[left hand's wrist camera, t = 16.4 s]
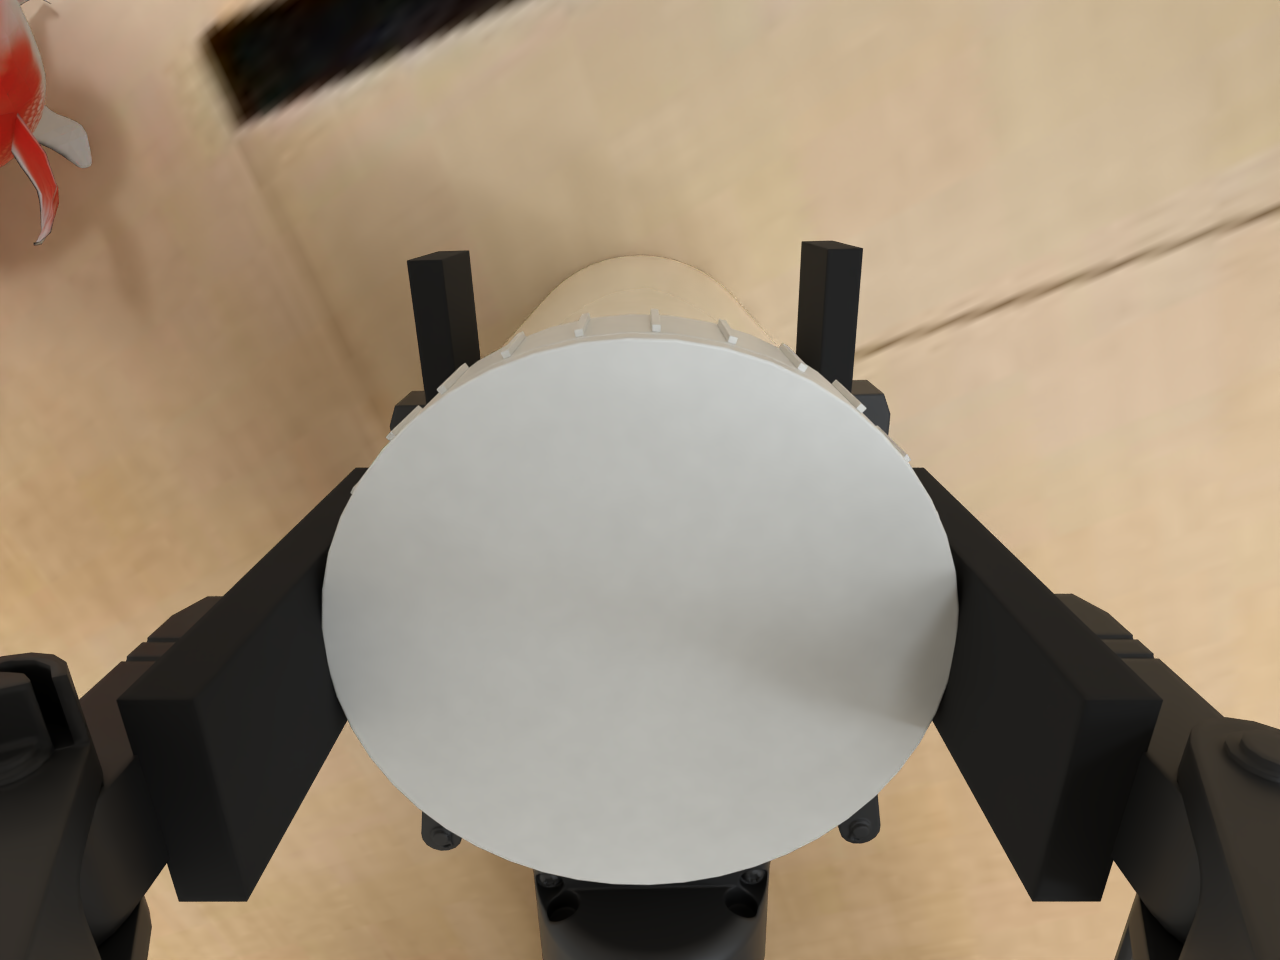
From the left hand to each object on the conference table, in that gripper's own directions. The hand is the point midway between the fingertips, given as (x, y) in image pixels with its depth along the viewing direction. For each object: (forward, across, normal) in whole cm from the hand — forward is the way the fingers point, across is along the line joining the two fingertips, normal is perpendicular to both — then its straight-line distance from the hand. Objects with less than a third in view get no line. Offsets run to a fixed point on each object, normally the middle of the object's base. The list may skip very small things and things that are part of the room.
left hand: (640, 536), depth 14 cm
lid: (-3, 0, 0) cm, 3 cm away
